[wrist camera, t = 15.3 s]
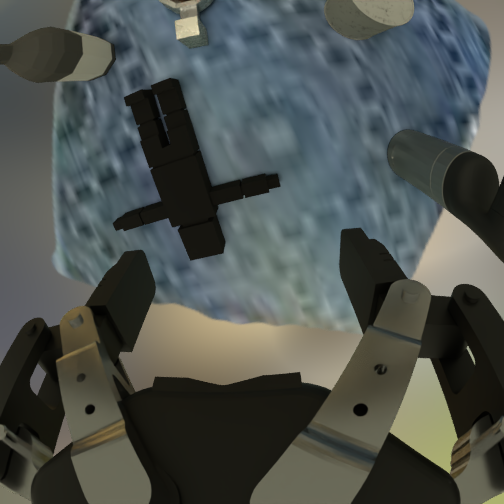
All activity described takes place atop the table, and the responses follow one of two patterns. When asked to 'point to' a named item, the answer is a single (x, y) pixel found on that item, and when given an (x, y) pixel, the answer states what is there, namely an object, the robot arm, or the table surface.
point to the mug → (189, 21)
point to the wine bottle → (58, 56)
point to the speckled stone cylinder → (367, 16)
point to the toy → (182, 173)
